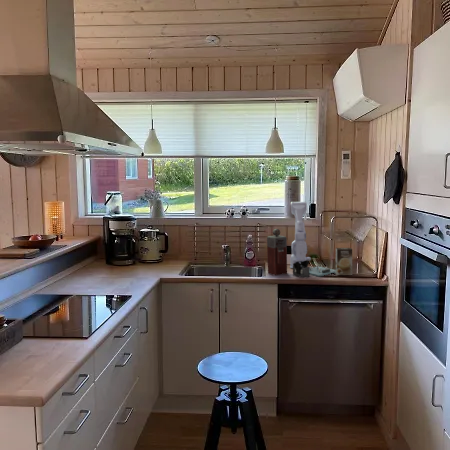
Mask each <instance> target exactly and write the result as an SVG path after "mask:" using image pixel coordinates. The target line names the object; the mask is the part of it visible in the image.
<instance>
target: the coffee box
mask: <svg viewBox="0 0 450 450" xmlns="http://www.w3.org/2000/svg"><path fill="white" fill-rule="evenodd" d="M335 270H336V273H335V276H337V275H352V276H353V248H351V247H335Z"/></svg>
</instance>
